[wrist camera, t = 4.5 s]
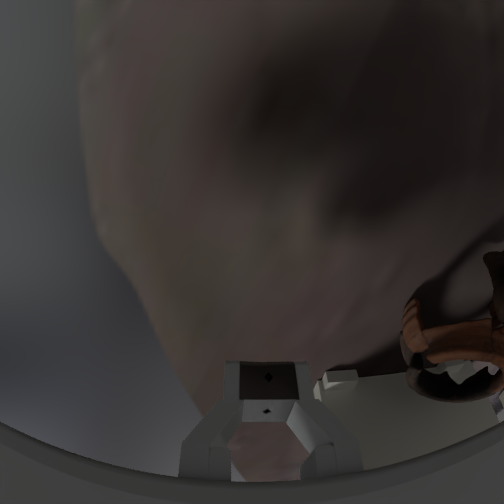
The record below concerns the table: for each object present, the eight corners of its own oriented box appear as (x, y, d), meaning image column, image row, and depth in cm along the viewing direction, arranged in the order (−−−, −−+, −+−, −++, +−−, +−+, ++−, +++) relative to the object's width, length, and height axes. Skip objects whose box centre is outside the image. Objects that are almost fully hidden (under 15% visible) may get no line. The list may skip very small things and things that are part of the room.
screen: (455, 376, 22) (487, 457, 14) (309, 398, 21) (324, 511, 13) (476, 351, 20) (516, 436, 12) (321, 371, 19) (344, 503, 11)
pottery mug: (480, 326, 19) (473, 415, 14) (391, 294, 22) (367, 388, 17) (561, 225, 10) (594, 335, 5) (451, 168, 13) (467, 279, 8)
